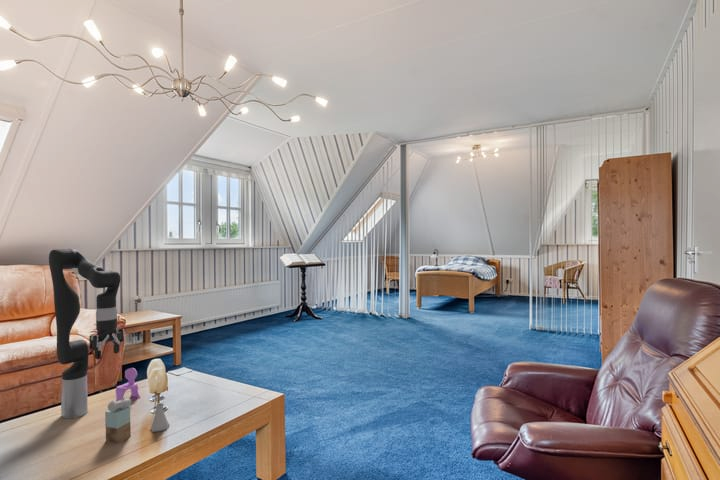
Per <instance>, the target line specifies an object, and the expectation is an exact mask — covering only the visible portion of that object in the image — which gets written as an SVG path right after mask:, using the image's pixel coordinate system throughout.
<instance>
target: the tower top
mask: <svg viewBox="0 0 720 480" xmlns="http://www.w3.org/2000/svg"><path fill="white" fill-rule="evenodd" d="M104 413H105V414H104V415H105V418H104V421H105V424H104V425H105V428H106V427H111V428H117V429H118V428H120V427H121V426H123V425H125V424H127V423H129V422H130V423H131V406H129V407H127V408H125V409H116V410H115V411H114V412H110V411H109V410H108V409H107V410H105V411H104Z"/></svg>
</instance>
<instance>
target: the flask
mask: <svg viewBox="0 0 720 480" xmlns="http://www.w3.org/2000/svg"><path fill="white" fill-rule="evenodd" d="M164 404H165V403H163V402H159V403H156V404H155V415H154V418H153V420H152V424H151V425H150V431H151V432H154V433H155V432H161V431H165V430H167V429H168V428H169V427H170V423H169V420H168V419H167V416H166V414H165V412H164V406H165V405H164ZM168 430H169V429H168Z"/></svg>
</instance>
